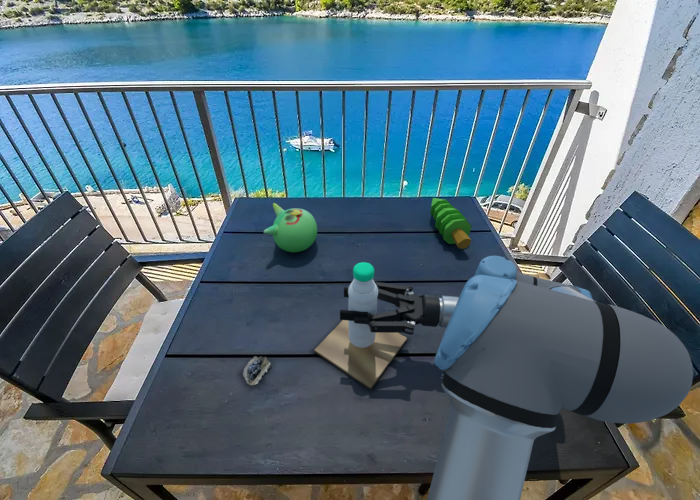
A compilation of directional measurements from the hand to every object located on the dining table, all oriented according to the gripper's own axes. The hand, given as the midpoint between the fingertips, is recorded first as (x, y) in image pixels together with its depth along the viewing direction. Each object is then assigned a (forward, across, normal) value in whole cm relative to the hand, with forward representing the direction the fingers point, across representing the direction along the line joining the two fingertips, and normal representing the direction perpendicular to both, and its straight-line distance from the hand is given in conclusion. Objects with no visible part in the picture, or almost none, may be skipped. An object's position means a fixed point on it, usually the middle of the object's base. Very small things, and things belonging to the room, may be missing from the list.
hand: (342, 303), depth 84 cm
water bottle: (-5, 0, -13) cm, 14 cm away
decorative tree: (-34, +57, -17) cm, 68 cm away
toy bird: (+23, +42, -17) cm, 50 cm away
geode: (+21, -11, -16) cm, 29 cm away
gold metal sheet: (-5, 0, -16) cm, 17 cm away
